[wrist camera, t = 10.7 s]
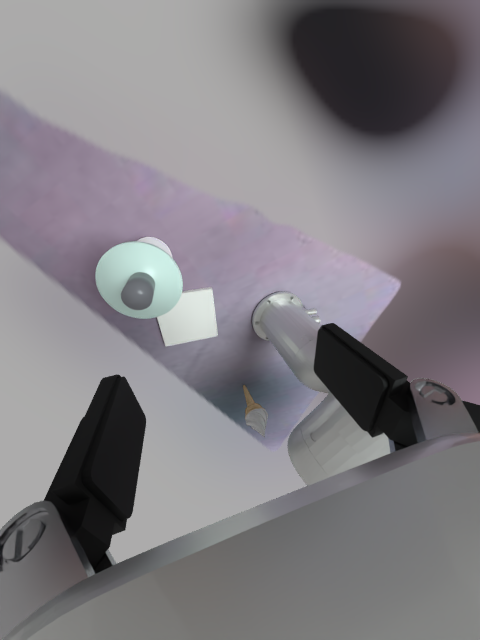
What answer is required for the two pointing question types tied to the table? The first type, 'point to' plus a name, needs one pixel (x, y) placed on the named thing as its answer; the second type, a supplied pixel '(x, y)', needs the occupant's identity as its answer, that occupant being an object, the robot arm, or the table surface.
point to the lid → (139, 280)
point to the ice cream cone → (255, 414)
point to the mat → (190, 318)
